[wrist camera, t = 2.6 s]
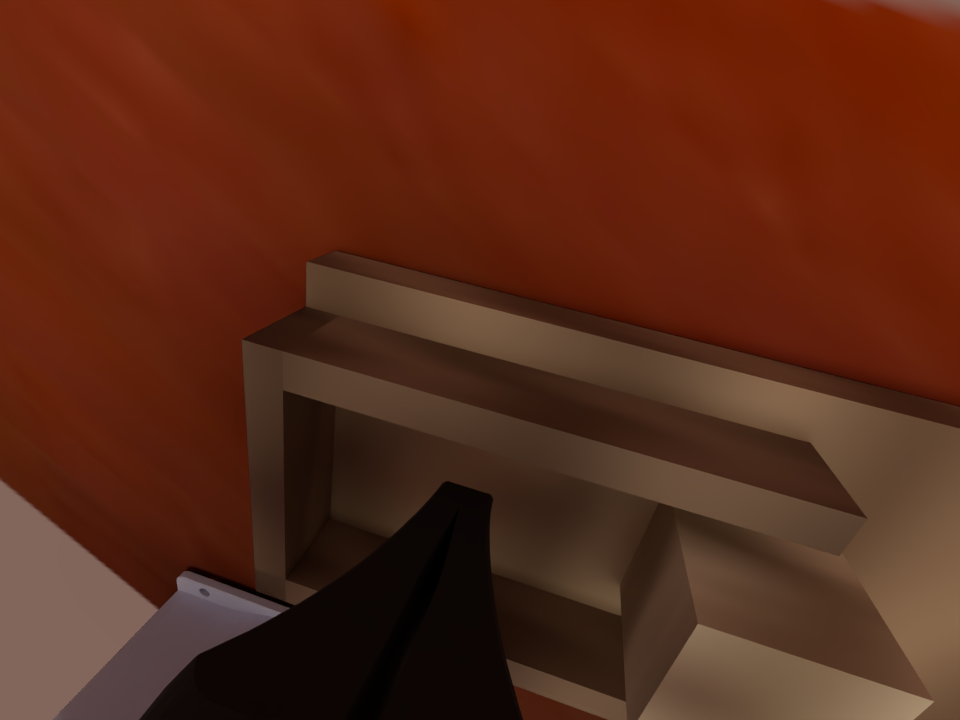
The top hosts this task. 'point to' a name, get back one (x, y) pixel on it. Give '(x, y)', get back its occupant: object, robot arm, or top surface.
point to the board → (625, 517)
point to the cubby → (515, 434)
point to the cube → (754, 631)
